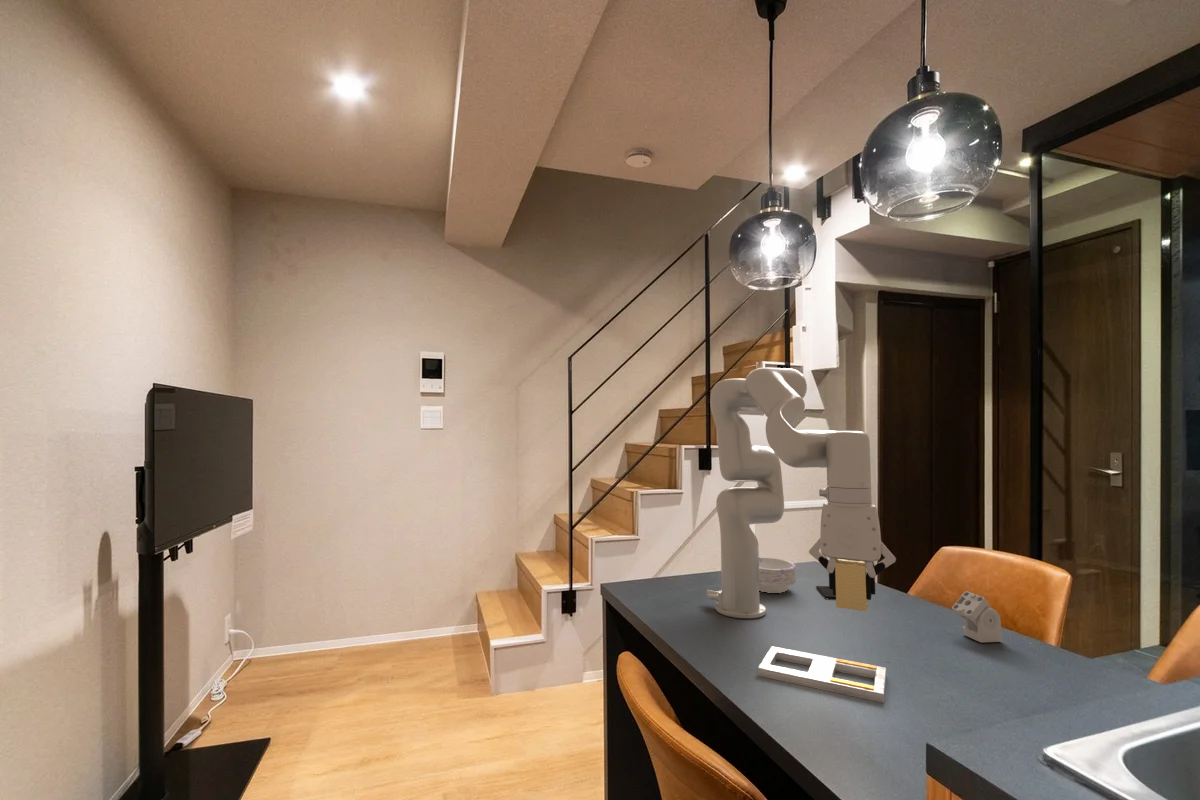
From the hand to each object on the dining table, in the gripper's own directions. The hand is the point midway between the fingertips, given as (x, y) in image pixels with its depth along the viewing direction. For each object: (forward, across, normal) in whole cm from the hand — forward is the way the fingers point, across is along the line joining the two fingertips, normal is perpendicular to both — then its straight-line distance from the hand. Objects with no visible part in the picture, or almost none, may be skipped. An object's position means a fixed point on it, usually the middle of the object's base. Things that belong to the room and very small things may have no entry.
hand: (852, 594), depth 101 cm
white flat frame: (+16, -6, 0) cm, 17 cm away
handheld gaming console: (+16, -9, +59) cm, 62 cm away
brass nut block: (+2, 0, 0) cm, 2 cm away
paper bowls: (+16, -27, +54) cm, 63 cm away
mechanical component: (+16, +22, +37) cm, 46 cm away
